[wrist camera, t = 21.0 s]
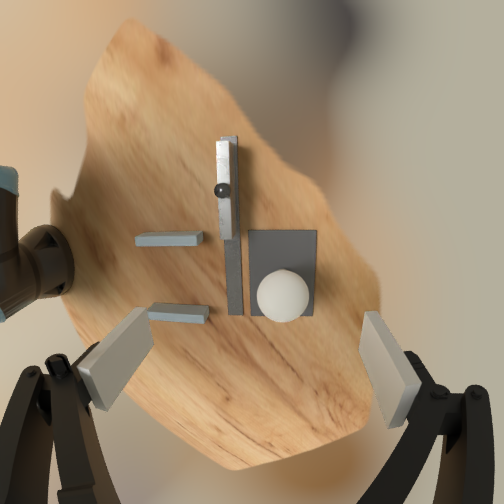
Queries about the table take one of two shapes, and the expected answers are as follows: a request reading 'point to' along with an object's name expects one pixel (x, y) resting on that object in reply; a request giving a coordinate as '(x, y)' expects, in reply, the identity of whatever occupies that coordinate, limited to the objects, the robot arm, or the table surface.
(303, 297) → the light bulb
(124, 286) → the table surface
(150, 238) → the channel
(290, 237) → the mat
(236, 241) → the track
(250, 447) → the table surface
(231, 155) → the latch bar
